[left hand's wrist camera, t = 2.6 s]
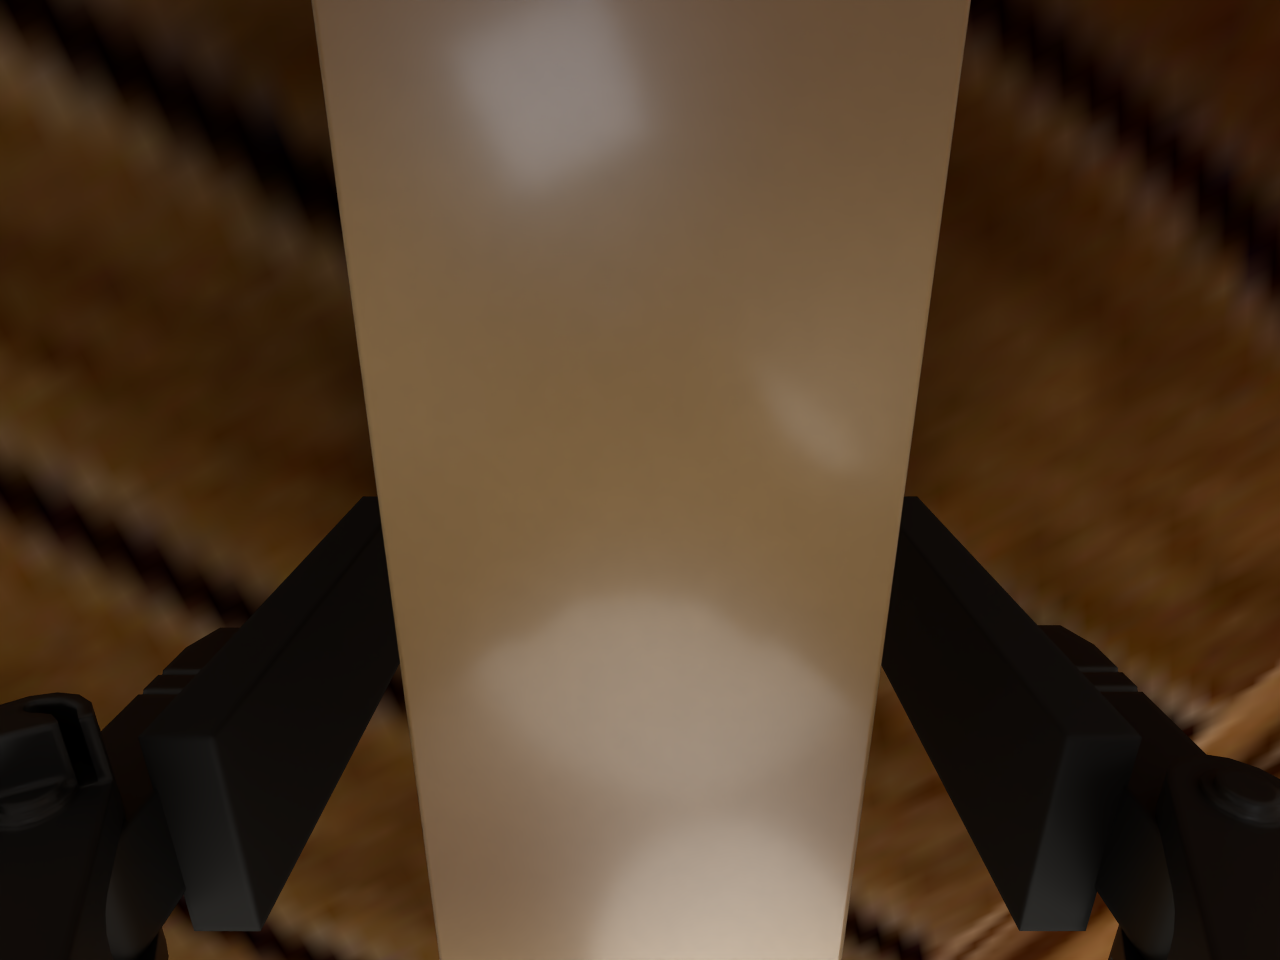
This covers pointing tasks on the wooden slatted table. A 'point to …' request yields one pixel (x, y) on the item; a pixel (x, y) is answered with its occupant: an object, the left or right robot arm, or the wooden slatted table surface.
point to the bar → (640, 441)
